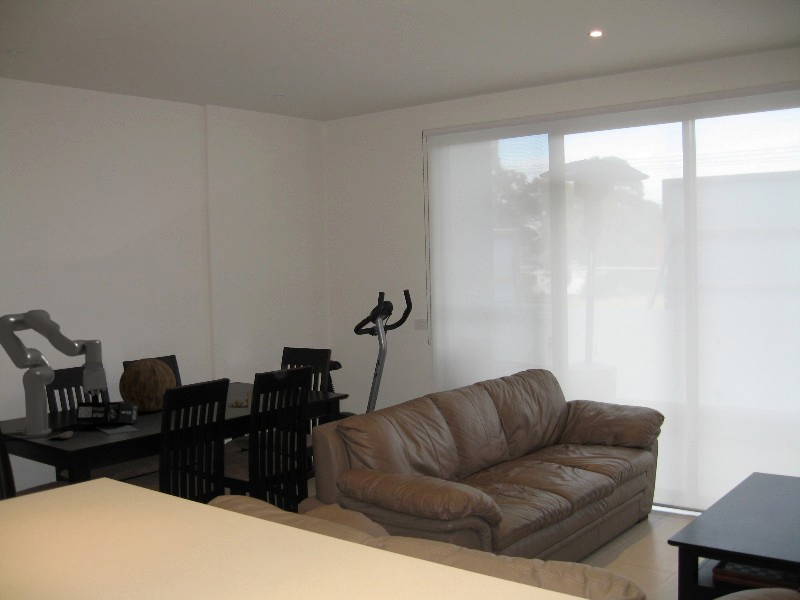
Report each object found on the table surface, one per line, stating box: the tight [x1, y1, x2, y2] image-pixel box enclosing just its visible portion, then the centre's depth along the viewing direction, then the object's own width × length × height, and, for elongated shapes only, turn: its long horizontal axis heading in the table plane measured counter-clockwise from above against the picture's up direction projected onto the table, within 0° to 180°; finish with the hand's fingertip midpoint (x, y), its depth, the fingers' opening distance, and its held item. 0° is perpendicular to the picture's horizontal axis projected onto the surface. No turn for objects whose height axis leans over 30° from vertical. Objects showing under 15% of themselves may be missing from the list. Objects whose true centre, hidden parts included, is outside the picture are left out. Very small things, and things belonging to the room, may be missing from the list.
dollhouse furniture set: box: [228, 391, 253, 408], centre depth 446 cm, size 13×13×11 cm
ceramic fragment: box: [48, 430, 74, 439], centre depth 366 cm, size 11×3×10 cm
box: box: [75, 401, 139, 425], centre depth 393 cm, size 23×10×19 cm
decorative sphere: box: [118, 357, 177, 413], centre depth 434 cm, size 30×30×30 cm
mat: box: [94, 424, 140, 436], centre depth 384 cm, size 14×25×1 cm, turn 35°
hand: (95, 403), depth 378 cm, fingers closed
